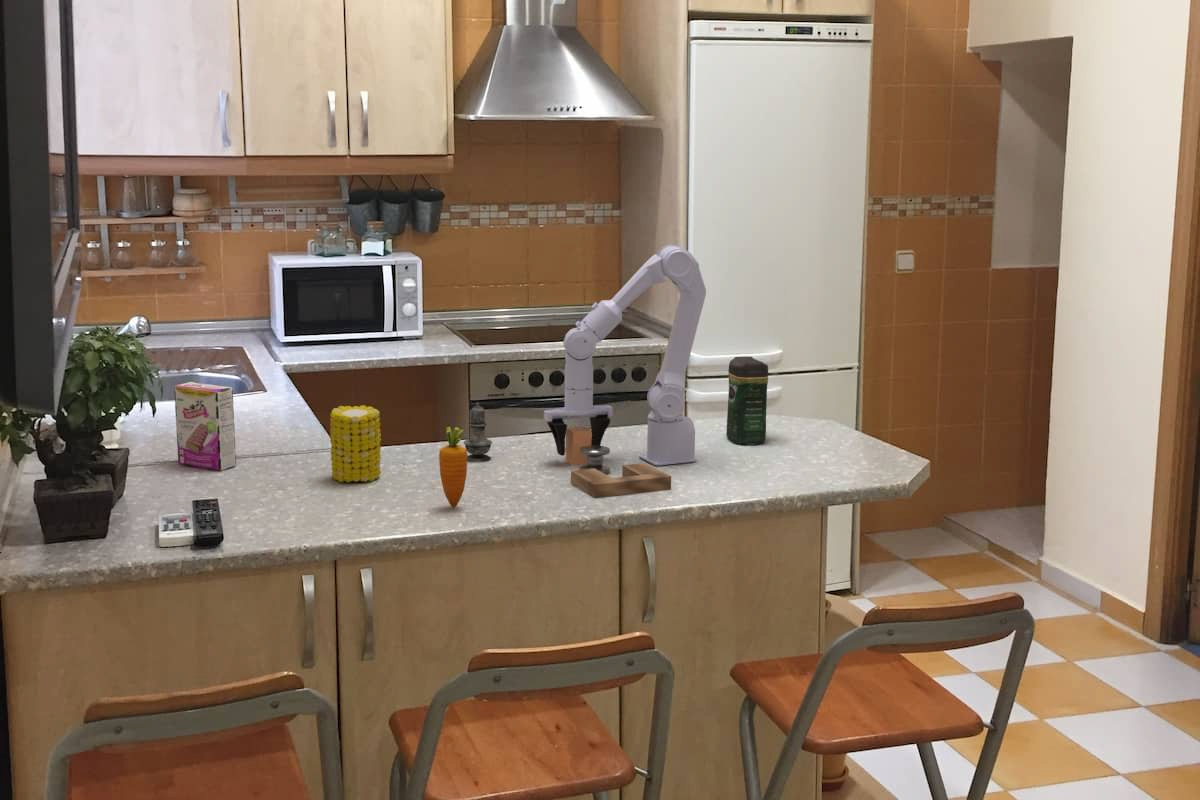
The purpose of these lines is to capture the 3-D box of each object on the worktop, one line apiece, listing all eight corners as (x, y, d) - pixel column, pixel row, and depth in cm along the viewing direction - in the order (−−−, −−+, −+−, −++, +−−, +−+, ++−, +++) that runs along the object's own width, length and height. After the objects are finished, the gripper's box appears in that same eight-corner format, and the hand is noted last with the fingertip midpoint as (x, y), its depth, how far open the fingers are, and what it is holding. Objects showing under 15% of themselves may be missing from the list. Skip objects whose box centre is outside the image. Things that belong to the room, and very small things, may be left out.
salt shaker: (487, 463, 268) (487, 405, 265) (460, 461, 269) (459, 404, 266) (495, 456, 273) (495, 399, 271) (468, 454, 274) (468, 398, 272)
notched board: (645, 475, 260) (645, 462, 259) (671, 488, 250) (671, 476, 249) (570, 483, 253) (570, 470, 252) (594, 497, 243) (594, 484, 243)
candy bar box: (176, 465, 263) (172, 385, 260) (194, 460, 267) (189, 381, 264) (220, 472, 258) (216, 390, 255) (237, 466, 263) (233, 386, 259)
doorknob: (601, 466, 266) (602, 444, 265) (614, 473, 261) (614, 450, 260) (574, 469, 263) (574, 446, 263) (587, 476, 258) (587, 453, 257)
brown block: (583, 459, 272) (583, 426, 270) (591, 463, 268) (591, 430, 267) (565, 461, 270) (565, 427, 269) (573, 465, 267) (573, 432, 265)
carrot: (440, 503, 238) (439, 423, 235) (467, 503, 239) (467, 423, 236) (439, 511, 233) (438, 429, 230) (467, 511, 234) (466, 429, 231)
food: (377, 478, 261) (377, 494, 251) (318, 467, 258) (316, 483, 249) (393, 406, 258) (394, 419, 248) (333, 394, 255) (332, 407, 245)
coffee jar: (770, 445, 286) (773, 361, 282) (735, 446, 284) (738, 362, 280) (755, 435, 295) (758, 353, 291) (722, 436, 293) (724, 354, 290)
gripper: (603, 381, 273) (602, 445, 275) (538, 386, 267) (538, 451, 269) (617, 387, 266) (616, 452, 269) (551, 392, 260) (551, 459, 263)
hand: (578, 452), depth 269 cm, fingers open, 7 cm apart
